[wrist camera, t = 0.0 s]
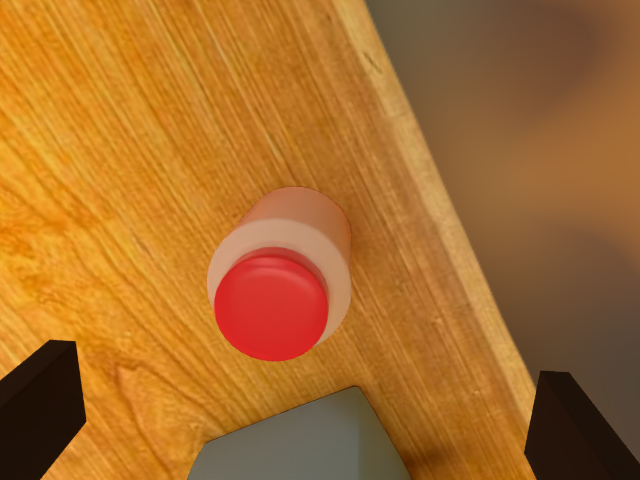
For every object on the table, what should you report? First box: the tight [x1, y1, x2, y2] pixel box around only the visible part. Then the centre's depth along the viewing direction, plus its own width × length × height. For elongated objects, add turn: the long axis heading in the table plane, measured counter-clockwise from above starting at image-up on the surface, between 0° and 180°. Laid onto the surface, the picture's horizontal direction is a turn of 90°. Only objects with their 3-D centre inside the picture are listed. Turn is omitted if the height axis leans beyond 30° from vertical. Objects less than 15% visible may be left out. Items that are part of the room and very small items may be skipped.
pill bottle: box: [207, 186, 352, 361], centre depth 28 cm, size 8×8×11 cm
